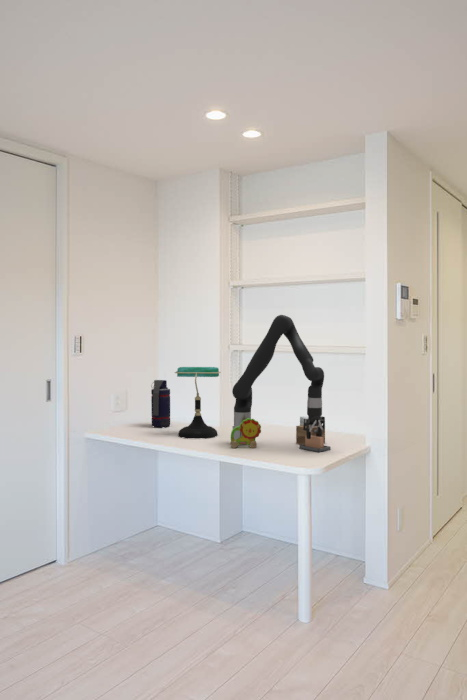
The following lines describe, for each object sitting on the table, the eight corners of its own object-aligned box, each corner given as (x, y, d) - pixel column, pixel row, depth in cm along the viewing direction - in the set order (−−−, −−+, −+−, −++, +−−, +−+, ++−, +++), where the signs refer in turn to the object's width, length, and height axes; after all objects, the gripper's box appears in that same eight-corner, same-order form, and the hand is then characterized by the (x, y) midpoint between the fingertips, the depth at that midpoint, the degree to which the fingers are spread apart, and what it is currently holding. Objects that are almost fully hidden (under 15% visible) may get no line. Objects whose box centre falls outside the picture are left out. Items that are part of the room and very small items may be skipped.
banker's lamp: (222, 432, 346) (222, 366, 345) (217, 439, 323) (217, 368, 322) (179, 431, 348) (179, 365, 347) (171, 438, 325) (171, 368, 324)
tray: (319, 452, 286) (319, 448, 286) (299, 448, 295) (299, 445, 295) (330, 450, 292) (330, 446, 292) (310, 446, 301) (310, 443, 301)
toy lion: (230, 448, 297) (230, 419, 296) (230, 446, 302) (230, 417, 302) (261, 448, 297) (261, 419, 296) (260, 446, 302) (260, 417, 302)
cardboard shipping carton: (311, 446, 302) (311, 428, 301) (296, 443, 309) (296, 426, 309) (325, 443, 310) (325, 425, 309) (310, 440, 318) (310, 423, 317)
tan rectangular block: (320, 449, 289) (320, 438, 289) (305, 447, 297) (305, 435, 296) (323, 449, 291) (323, 437, 291) (308, 446, 298) (308, 434, 298)
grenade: (156, 424, 376) (156, 379, 375) (173, 425, 372) (173, 379, 371) (146, 428, 363) (146, 380, 362) (164, 428, 359) (163, 381, 358)
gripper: (317, 404, 300) (317, 435, 301) (299, 406, 291) (299, 438, 291) (329, 406, 295) (328, 437, 295) (311, 408, 285) (310, 440, 286)
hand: (314, 437), depth 293 cm, fingers open, 8 cm apart
